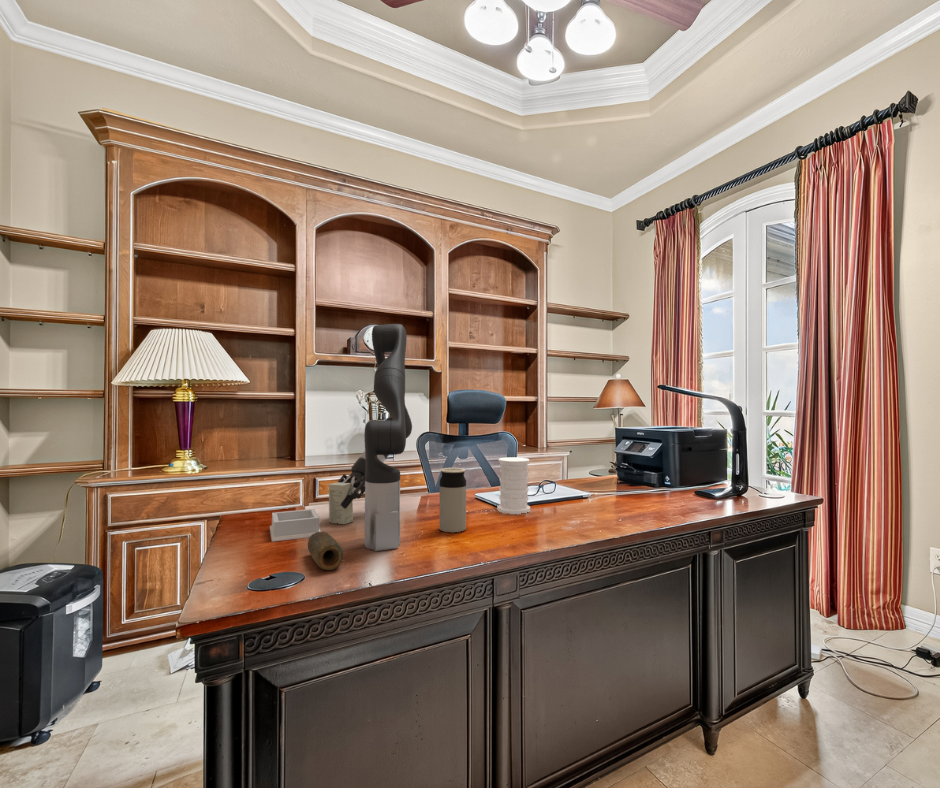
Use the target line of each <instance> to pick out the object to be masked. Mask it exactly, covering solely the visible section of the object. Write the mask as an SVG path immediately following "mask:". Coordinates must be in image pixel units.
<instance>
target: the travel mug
mask: <svg viewBox="0 0 940 788" xmlns="http://www.w3.org/2000/svg"><path fill="white" fill-rule="evenodd" d="M440 472H441V477H440V479H439V514H438V515H439V517H438V518H439V522H438V523H439V525H438V528H439V530H440V531H442V532H443V531H444V532H443V533H448V532H450V533H451V534H453V533H455V532H457V533H461V531H462V532H464V531H465V530H466V529H467V479H466V477H465V472H466V469H465V468H461V467H443V468H440ZM450 533H449V534H450ZM455 534H456V533H455Z"/></svg>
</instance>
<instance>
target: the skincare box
mask: <svg viewBox="0 0 940 788" xmlns="http://www.w3.org/2000/svg"><path fill="white" fill-rule="evenodd" d="M350 486H351V483H340V482H338V481H337V482H332V483H329V484H328V500H329V501H328V517H329V521H328V522H331V523H330V524H337V523H338V524H339V525H346V524H349V523H352V522H353V521H354V519H353V517H354V514H353V512H354V511H353V510H354V509H353V508H354V507H353V503H354V502H353V501H352V502H351V503H350V504H349V506H348V507H347V508H346V509H345V508H343V507H342V506H341V503H342V501H343V500H344V499H345V498H346V496H347V495H349V492H350ZM338 524H337V525H338Z"/></svg>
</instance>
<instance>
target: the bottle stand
mask: <svg viewBox="0 0 940 788" xmlns="http://www.w3.org/2000/svg"><path fill="white" fill-rule="evenodd" d="M271 516H272V517H271V525H269V533H270V539H271V542H280V541H288V540H296V539H305V538H307V539H308V538H310V536H311V535H312V534H314V533H316V532H322V530H321V528H320V517H319V515H318V513H317V512H316V510H315V508H308V509H299V510H287V511H286V510H285V511H277V512H272V513H271Z"/></svg>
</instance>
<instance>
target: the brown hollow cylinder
mask: <svg viewBox="0 0 940 788" xmlns="http://www.w3.org/2000/svg"><path fill="white" fill-rule="evenodd" d="M343 549H344V548H343V547H342V545H341V544H340V543H339V542H338V541H337V540H336V539H335V538H334V537H332V536H331V535H330V534H329V533H327V532H326V531H321V532H316V533H314V534H312V535H311V536H310V537H308V541H307V551H308V552H309V554H310V557H311V558H312V560H313V561H314V563H315V564H317V566H318V567H319V568H320V569H322V570H326V571H332V570H335V569H337V567H339V565H340V564H341V563H342V560H343V559H344V550H343Z"/></svg>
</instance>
